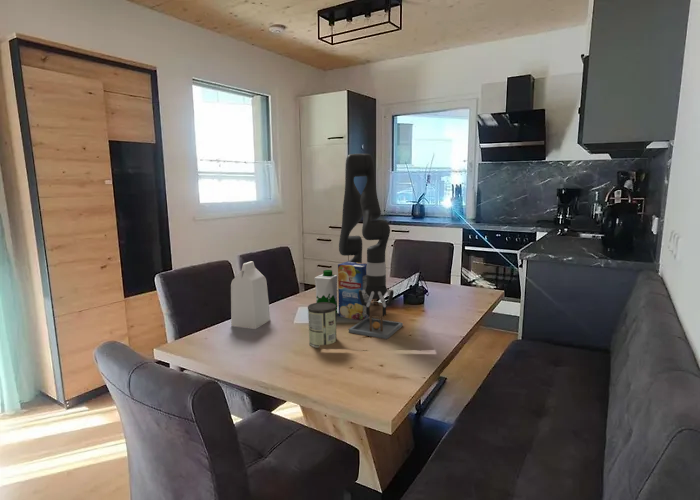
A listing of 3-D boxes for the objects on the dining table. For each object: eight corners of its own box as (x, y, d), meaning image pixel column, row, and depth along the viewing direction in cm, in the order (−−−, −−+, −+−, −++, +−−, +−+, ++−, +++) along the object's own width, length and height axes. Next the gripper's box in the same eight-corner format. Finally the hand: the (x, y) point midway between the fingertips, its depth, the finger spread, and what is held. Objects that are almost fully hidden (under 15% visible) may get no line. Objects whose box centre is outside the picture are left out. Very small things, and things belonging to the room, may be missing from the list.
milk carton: (339, 314, 189) (339, 270, 186) (331, 320, 181) (330, 274, 178) (322, 312, 193) (321, 269, 189) (313, 317, 184) (311, 273, 181)
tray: (348, 335, 163) (348, 329, 162) (366, 323, 177) (366, 317, 176) (387, 342, 155) (387, 335, 155) (402, 328, 169) (402, 322, 169)
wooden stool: (369, 331, 164) (369, 303, 162) (369, 326, 169) (369, 300, 167) (382, 331, 163) (382, 303, 162) (382, 326, 168) (382, 300, 166)
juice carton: (338, 319, 182) (337, 264, 179) (347, 314, 189) (346, 261, 185) (362, 323, 176) (362, 267, 173) (371, 318, 183) (371, 264, 179)
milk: (255, 329, 171) (252, 266, 167) (231, 326, 175) (227, 264, 171) (270, 319, 182) (267, 260, 178) (247, 317, 186) (244, 259, 182)
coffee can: (315, 336, 162) (314, 301, 160) (340, 339, 159) (340, 303, 156) (304, 346, 152) (302, 308, 150) (330, 349, 149) (329, 311, 147)
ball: (371, 329, 165) (371, 322, 165) (374, 327, 168) (374, 320, 167) (378, 330, 164) (378, 323, 163) (381, 328, 167) (381, 321, 166)
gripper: (357, 275, 159) (357, 318, 162) (395, 275, 158) (395, 319, 161) (357, 271, 167) (358, 312, 169) (394, 271, 166) (394, 313, 168)
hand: (376, 315), depth 165 cm, fingers closed on wooden stool, 5 cm apart
